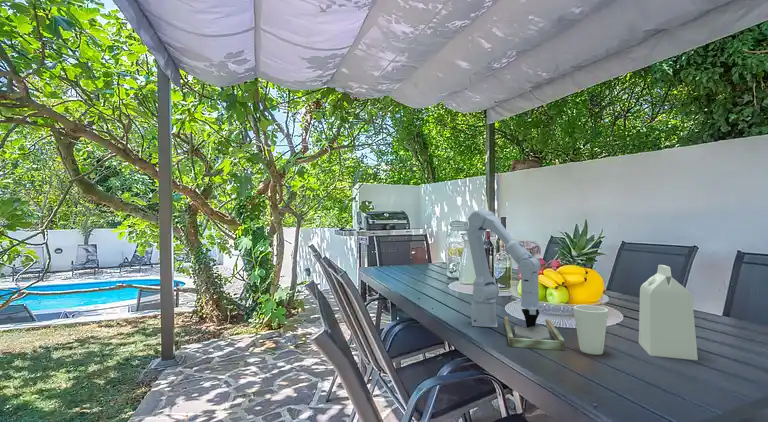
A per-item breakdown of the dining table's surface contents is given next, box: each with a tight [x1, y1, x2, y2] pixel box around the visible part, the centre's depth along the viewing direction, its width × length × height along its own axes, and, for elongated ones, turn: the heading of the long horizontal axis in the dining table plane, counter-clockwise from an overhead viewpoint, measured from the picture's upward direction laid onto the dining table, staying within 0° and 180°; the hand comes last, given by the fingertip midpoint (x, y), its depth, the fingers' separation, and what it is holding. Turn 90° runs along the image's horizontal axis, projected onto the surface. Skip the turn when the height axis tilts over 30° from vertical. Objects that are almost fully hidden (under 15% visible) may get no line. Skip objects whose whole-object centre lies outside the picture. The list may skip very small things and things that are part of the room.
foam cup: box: [573, 304, 609, 356], centre depth 117 cm, size 10×9×13 cm
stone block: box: [511, 325, 552, 340], centre depth 128 cm, size 12×5×10 cm
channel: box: [503, 316, 566, 351], centre depth 133 cm, size 17×28×3 cm, turn 165°
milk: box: [638, 264, 698, 361], centre depth 116 cm, size 12×12×26 cm
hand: (530, 330), depth 134 cm, fingers closed
